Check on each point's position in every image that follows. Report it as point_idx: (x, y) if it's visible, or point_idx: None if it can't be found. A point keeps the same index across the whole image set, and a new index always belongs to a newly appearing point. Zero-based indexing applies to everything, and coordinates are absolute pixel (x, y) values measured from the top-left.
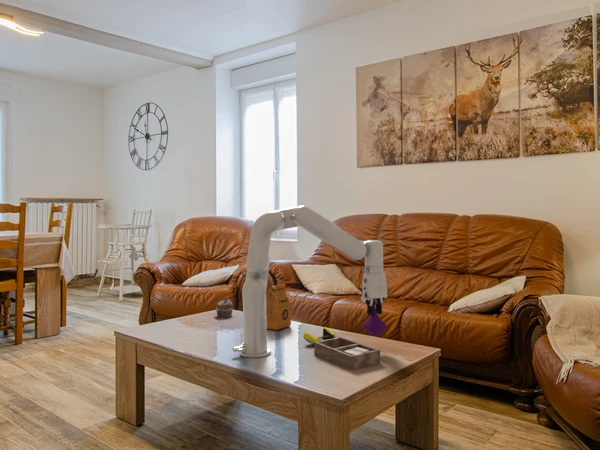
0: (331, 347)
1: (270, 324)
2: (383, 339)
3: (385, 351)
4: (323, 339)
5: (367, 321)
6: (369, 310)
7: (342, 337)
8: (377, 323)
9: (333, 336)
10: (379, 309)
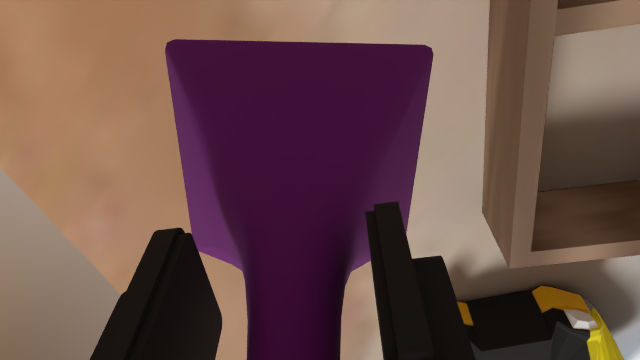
0: (599, 203)
1: None
2: (99, 261)
3: (229, 9)
4: (555, 325)
5: None
6: (451, 299)
7: (513, 252)
8: (312, 97)
9: None
10: (176, 309)
